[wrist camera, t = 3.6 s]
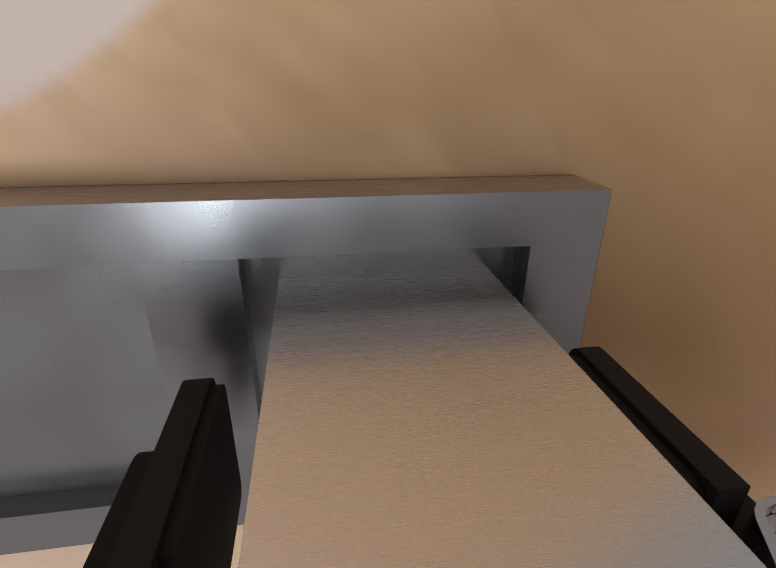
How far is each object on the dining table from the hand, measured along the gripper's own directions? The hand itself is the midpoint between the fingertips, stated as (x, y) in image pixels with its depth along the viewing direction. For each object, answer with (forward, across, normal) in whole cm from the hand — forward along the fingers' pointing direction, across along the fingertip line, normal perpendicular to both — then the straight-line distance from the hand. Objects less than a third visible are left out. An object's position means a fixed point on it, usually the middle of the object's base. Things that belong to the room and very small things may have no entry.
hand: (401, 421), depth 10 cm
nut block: (+2, 0, 0) cm, 2 cm away
